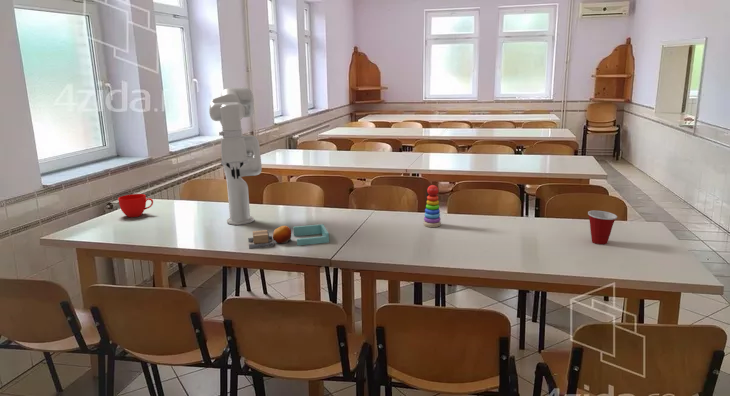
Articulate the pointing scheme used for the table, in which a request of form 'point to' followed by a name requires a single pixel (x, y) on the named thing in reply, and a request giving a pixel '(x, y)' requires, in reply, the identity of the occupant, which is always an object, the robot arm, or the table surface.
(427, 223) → the stacking toy
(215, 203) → the table surface
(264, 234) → the block
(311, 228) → the teal u-shaped frame
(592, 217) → the plastic cup
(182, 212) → the table surface
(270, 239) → the launcher track
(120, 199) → the ceramic cup
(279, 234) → the fruit
